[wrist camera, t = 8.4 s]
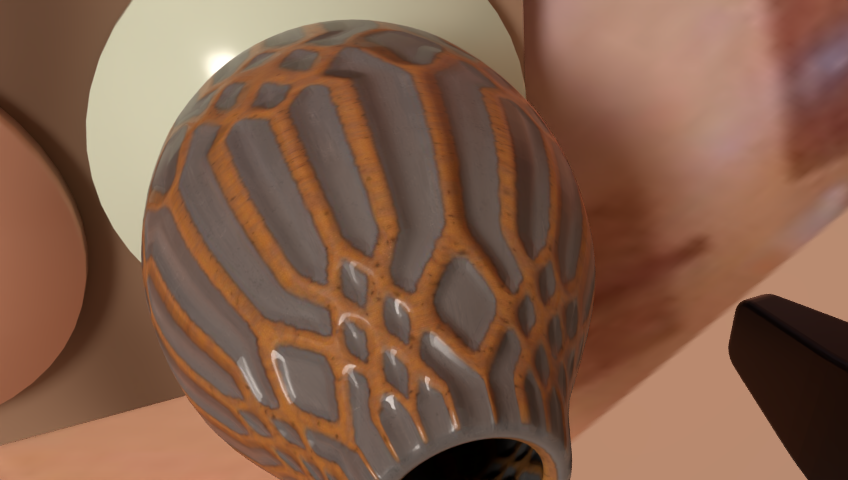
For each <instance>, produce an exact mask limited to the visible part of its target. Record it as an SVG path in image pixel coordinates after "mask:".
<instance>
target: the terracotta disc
mask: <svg viewBox="0 0 848 480" xmlns="http://www.w3.org/2000/svg"><path fill="white" fill-rule="evenodd" d="M87 275H88V245H87V240H86V235H85V230H84V225H83V221H82V218H81V215H80V213H79V210H78V207H77V205H76V202H75V199H74V197H73V195H72V193H71V191H70V189H69V188H68V186H67V184H66V182H65V180H64V179H63V177H62V175H61V173H60V171H59V170H58V169H57V167H56V166H55V165H54V163H53V162H52V161H51V159H50V158H49V156H48V155H47V154H46V152H45V151H44V150H43V148H42V147H41V146H40V145H39V144H38V143H37V142H36V141H35V140H34V139H33V137H32V136H31V135H30V134H29V133H28V132H27V131H26V130H25V129H24V128H23V127H22V126H21V125H20V124H19V123H18V122H17V121H16V120H15V119H14V118H12V117H11V116H10V115H9V114H8V113H7V112H5V111H4V110H3V109H2V108H1V107H0V404H2V403H4V402H6V401H7V400H9V399H11V398H13V397H14V396H15V395H17V394H18V393H20V392H21V391H22V390H24V389H25V388H26V387H28V386H29V385H31V384H32V383H33V382H34V381H35V380H36V379H37V378H38V377H39V376H40V375H41V374H42V373H44V372H45V371H46V370H47V369H48V368H49V367H50V366H51V364H52V363H53V362H54V360H55V359H56V358H57V357H58V355H59V354H60V353H61V351H62V350H63V349H64V347H65V345H66V343H67V342H68V340H69V338H70V336H71V334H72V332H73V330H74V329H75V326H76V323H77V320H78V317H79V314H80V311H81V308H82V303H83V299H84V294H85V289H86V282H87Z"/></svg>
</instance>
